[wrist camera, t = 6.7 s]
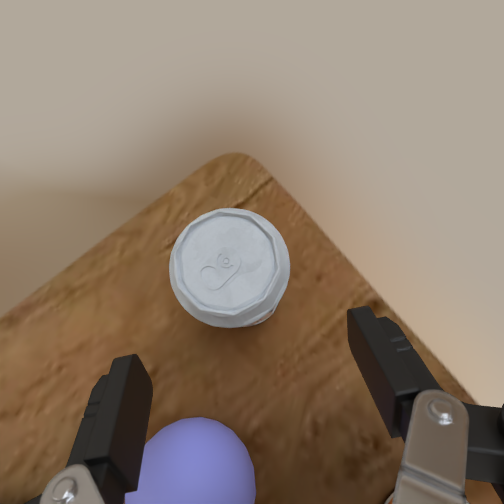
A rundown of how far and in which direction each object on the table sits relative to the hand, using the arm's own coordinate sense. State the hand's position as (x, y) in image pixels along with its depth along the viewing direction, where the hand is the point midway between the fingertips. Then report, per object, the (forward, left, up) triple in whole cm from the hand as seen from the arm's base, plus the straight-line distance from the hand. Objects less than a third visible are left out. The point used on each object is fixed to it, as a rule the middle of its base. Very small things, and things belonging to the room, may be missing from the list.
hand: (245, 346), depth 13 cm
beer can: (-1, -3, -11) cm, 11 cm away
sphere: (+6, +6, -11) cm, 14 cm away
